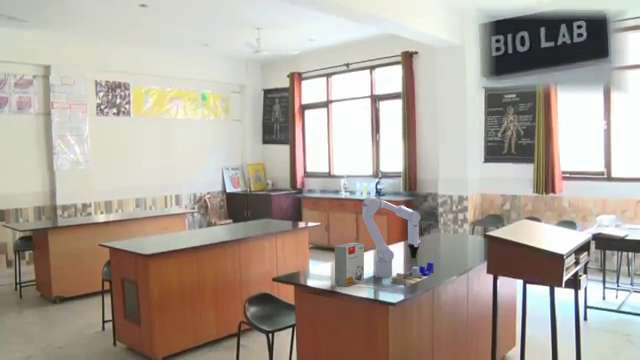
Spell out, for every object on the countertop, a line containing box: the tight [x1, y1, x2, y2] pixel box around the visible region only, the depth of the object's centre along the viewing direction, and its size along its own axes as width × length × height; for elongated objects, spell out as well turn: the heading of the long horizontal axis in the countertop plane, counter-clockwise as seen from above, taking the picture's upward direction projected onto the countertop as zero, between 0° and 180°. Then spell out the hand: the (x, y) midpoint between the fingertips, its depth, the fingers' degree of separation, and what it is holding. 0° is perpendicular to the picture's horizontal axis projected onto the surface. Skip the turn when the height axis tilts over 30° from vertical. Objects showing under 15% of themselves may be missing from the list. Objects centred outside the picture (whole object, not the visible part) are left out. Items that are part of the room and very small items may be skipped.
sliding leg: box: [411, 266, 421, 279], centre depth 262 cm, size 3×5×5 cm, turn 51°
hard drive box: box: [334, 242, 365, 288], centre depth 256 cm, size 16×8×20 cm, turn 138°
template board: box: [391, 270, 428, 287], centre depth 257 cm, size 22×10×6 cm, turn 141°
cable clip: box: [418, 261, 435, 277], centre depth 270 cm, size 12×4×6 cm, turn 143°
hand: (413, 257), depth 271 cm, fingers closed
